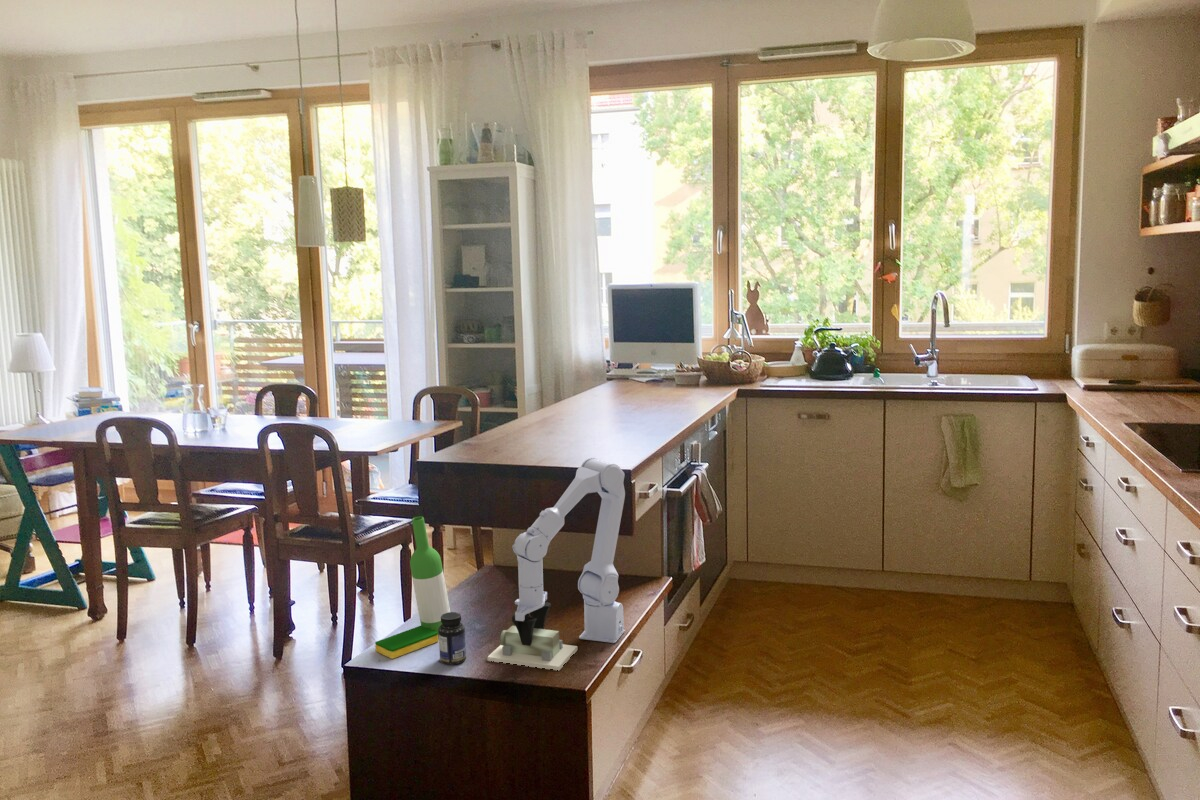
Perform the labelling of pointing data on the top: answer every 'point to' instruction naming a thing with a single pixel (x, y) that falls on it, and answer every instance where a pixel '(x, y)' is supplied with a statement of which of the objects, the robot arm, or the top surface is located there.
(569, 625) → the top surface
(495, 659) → the cradle jig
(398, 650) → the dish sponge
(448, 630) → the pill bottle
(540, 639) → the tall single-stud brick
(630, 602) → the top surface
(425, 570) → the wine bottle
